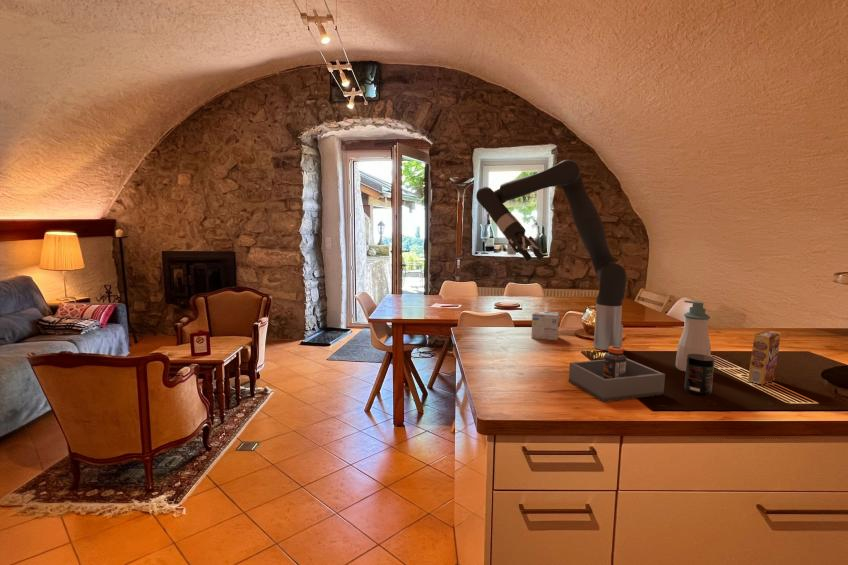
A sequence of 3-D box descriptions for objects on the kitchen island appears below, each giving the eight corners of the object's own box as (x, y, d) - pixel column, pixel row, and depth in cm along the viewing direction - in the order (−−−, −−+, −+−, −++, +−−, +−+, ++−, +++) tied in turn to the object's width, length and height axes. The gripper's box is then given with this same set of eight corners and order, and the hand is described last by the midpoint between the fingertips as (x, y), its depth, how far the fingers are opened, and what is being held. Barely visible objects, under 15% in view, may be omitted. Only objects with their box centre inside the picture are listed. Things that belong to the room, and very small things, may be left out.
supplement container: (713, 391, 128) (716, 356, 127) (709, 398, 123) (713, 362, 122) (686, 386, 133) (689, 352, 131) (681, 392, 127) (684, 357, 126)
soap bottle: (680, 363, 154) (685, 298, 151) (713, 370, 147) (719, 302, 144) (671, 369, 147) (676, 301, 144) (705, 377, 140) (711, 306, 137)
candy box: (763, 386, 133) (769, 336, 131) (747, 382, 137) (752, 333, 134) (775, 380, 138) (781, 332, 136) (759, 376, 141) (764, 329, 139)
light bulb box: (558, 336, 190) (559, 312, 188) (557, 340, 183) (558, 315, 182) (532, 334, 193) (533, 310, 192) (531, 338, 187) (531, 313, 185)
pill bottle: (598, 381, 133) (601, 344, 132) (617, 380, 134) (620, 344, 133) (609, 388, 128) (611, 350, 126) (628, 387, 128) (631, 349, 127)
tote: (623, 375, 141) (625, 357, 140) (663, 394, 126) (665, 374, 125) (568, 381, 136) (569, 362, 135) (603, 401, 121) (604, 380, 120)
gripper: (506, 220, 164) (532, 253, 158) (526, 220, 175) (552, 251, 168) (494, 234, 169) (519, 267, 162) (514, 234, 179) (539, 264, 173)
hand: (536, 259), depth 165 cm, fingers open, 8 cm apart
